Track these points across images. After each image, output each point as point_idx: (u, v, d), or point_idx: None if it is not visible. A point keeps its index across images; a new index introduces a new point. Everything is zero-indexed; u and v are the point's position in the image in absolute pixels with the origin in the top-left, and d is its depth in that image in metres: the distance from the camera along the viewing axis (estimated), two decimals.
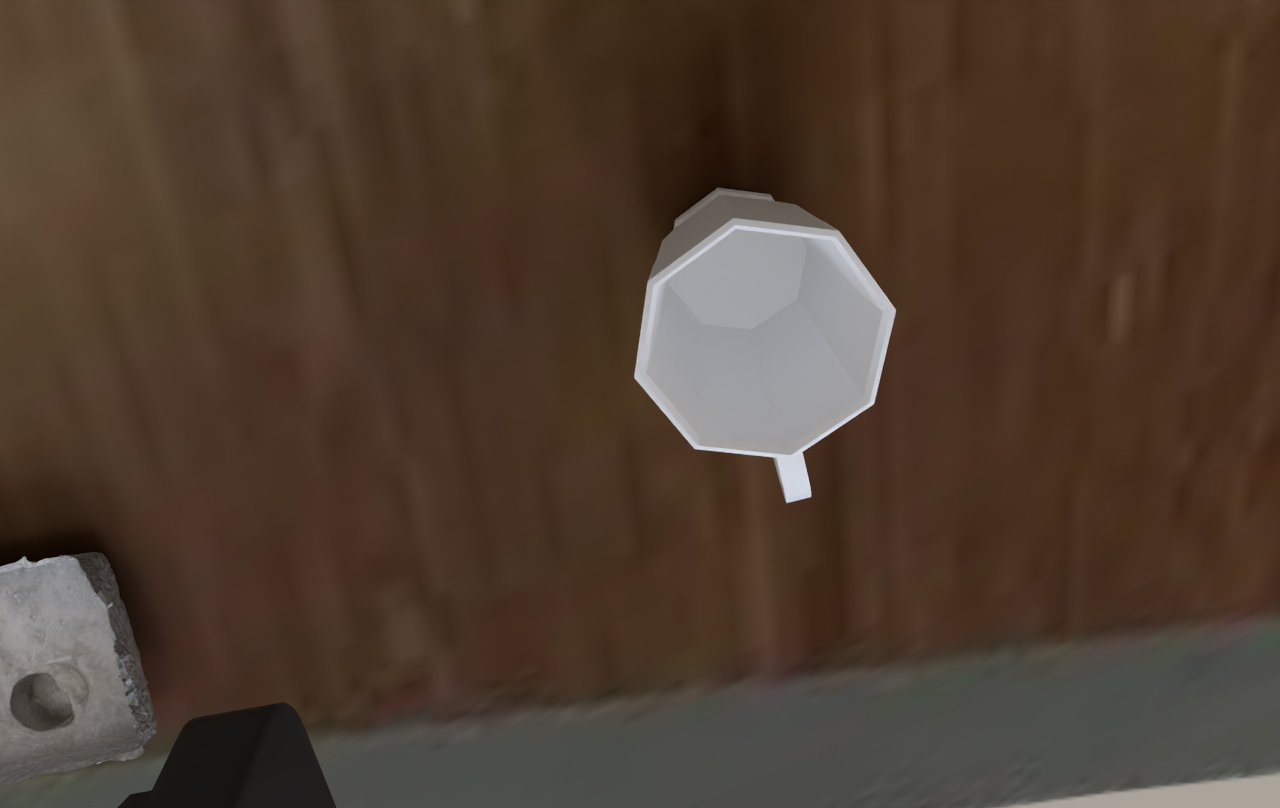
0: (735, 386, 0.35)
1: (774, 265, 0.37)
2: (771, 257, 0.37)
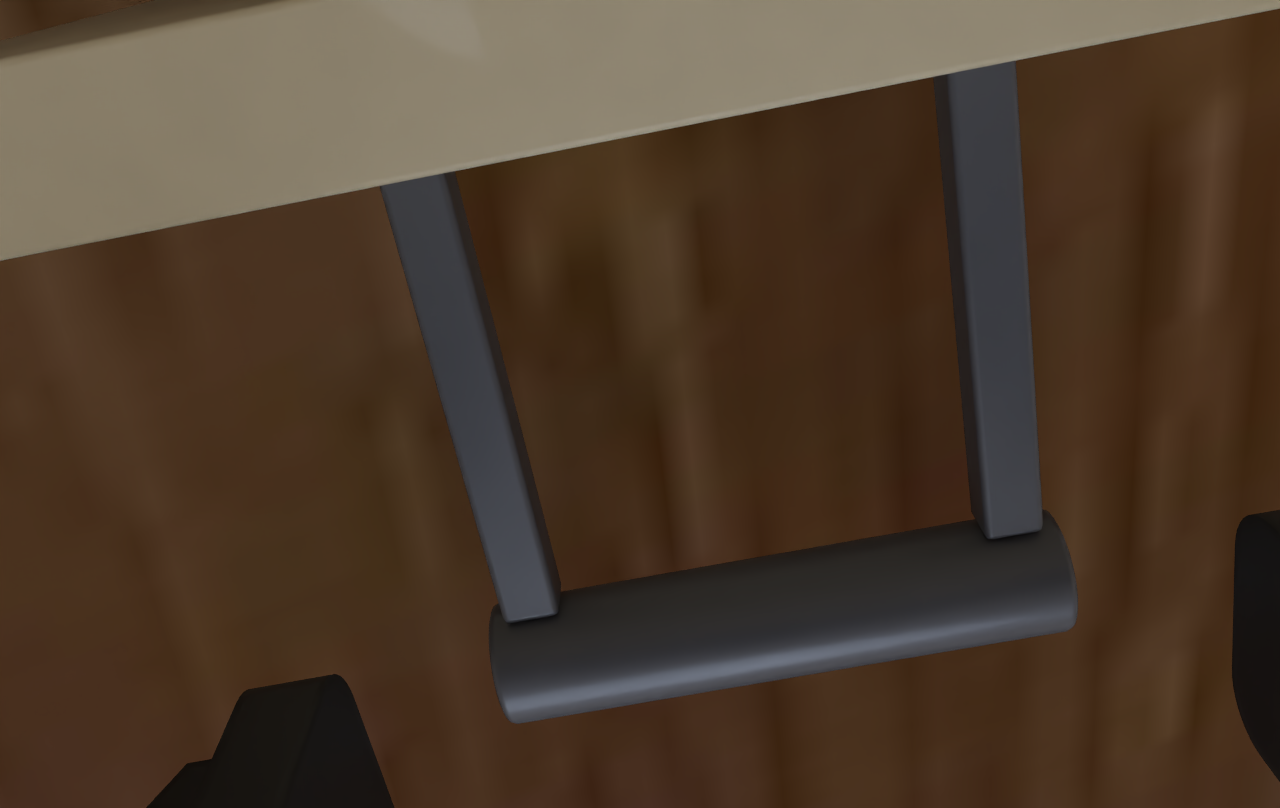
0: None
1: None
2: None
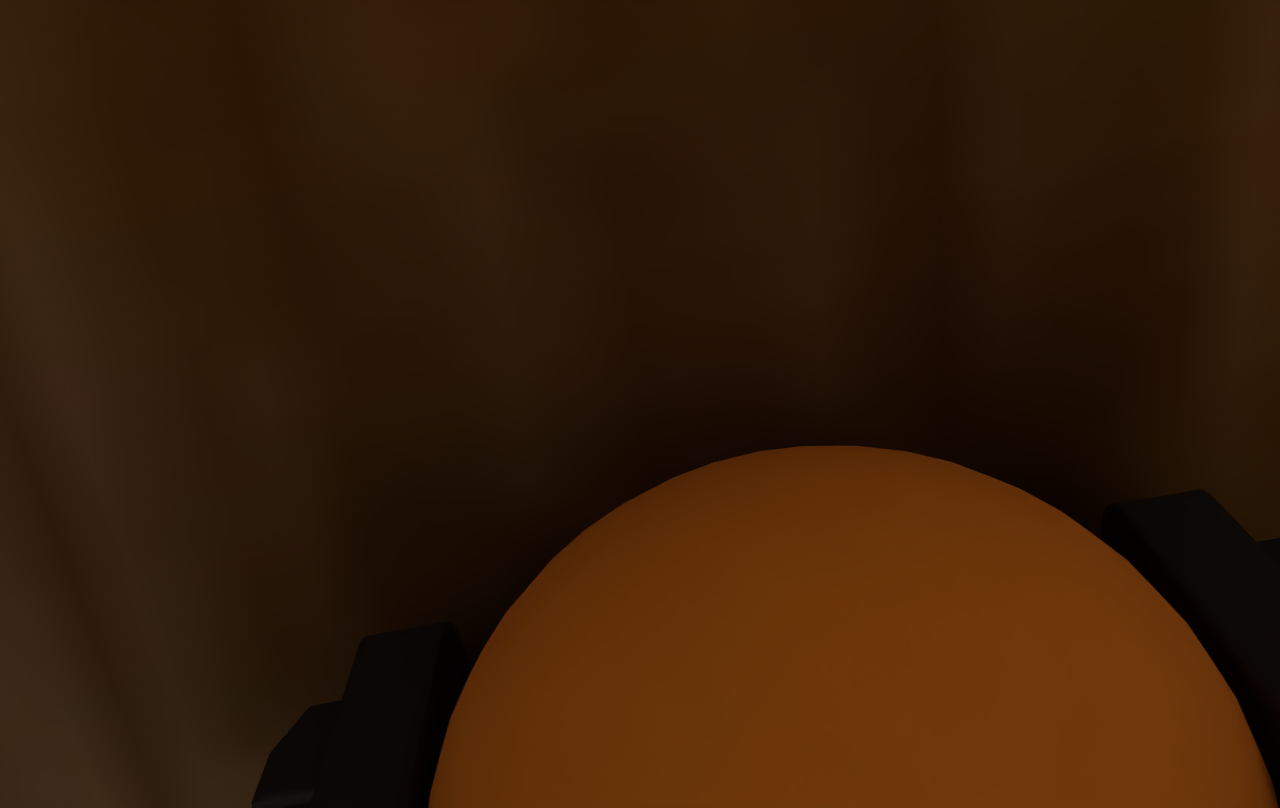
0: None
1: None
2: None
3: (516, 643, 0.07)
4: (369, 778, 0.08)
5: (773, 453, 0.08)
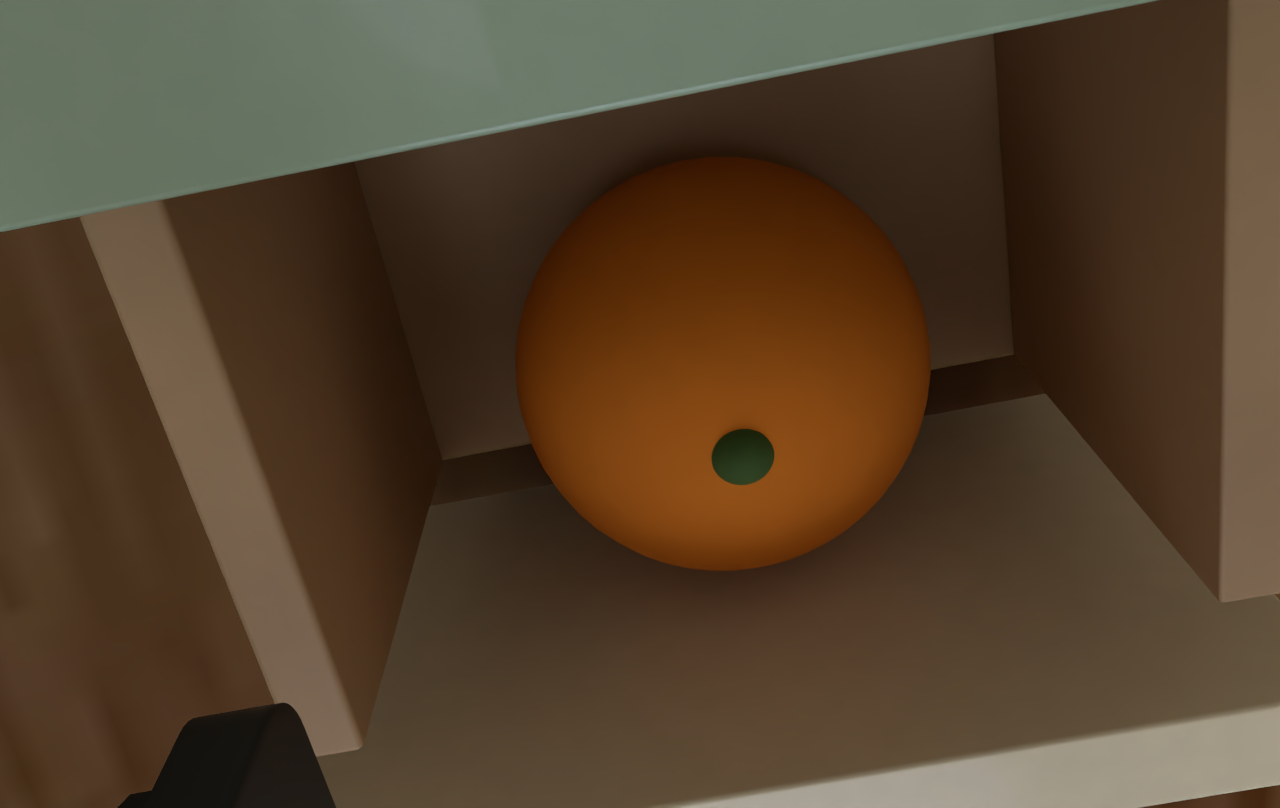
0: None
1: None
2: None
3: (561, 239, 0.15)
4: None
5: None
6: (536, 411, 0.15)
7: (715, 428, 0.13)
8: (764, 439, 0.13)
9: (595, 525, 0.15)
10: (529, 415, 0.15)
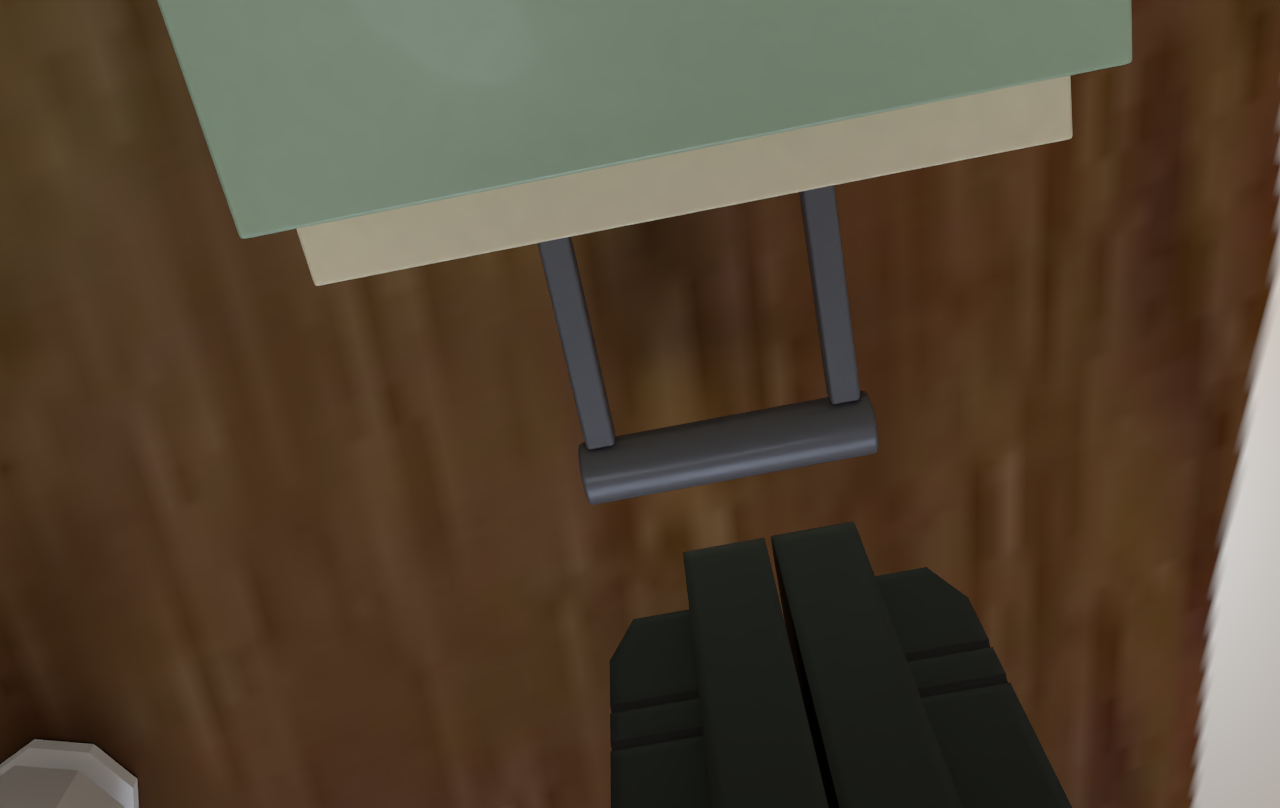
0: None
1: None
2: None
3: None
4: (752, 673, 0.08)
5: None
6: None
7: None
8: None
9: None
10: None
